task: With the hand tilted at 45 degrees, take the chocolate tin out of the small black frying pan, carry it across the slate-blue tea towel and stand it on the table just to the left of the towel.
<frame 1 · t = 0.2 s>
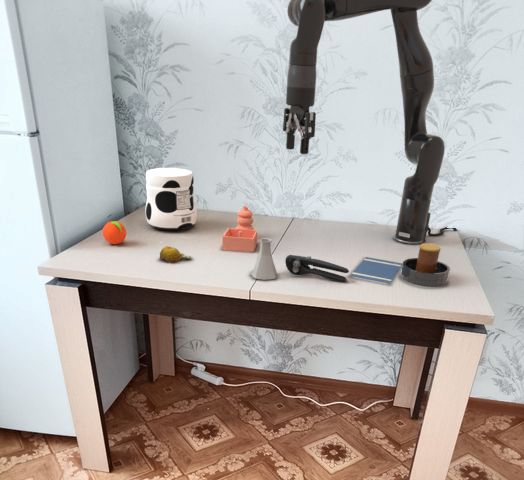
hand: (296, 151, 139), 29 cm above the table, tool pointing down, fingers open, 8 cm apart
chocolate tin: (426, 262, 137), in the pan
clementine: (116, 244, 155), on the table
flask: (264, 276, 137), on the table
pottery: (242, 242, 161), on the table
tea towel: (376, 270, 143), on the table
pan: (423, 279, 139), on the table
pan handle: (424, 257, 146), point 3 cm above the table
can opener: (315, 277, 137), on the table
milk container: (172, 227, 173), on the table
fruit: (176, 259, 146), on the table
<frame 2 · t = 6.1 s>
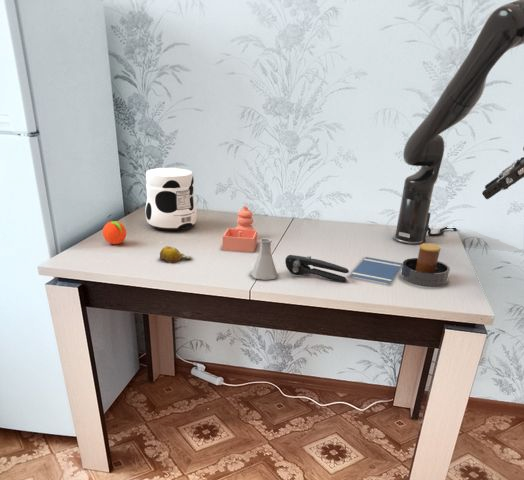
hand: (485, 193, 123), 25 cm above the table, tool tilted 45°, fingers open, 8 cm apart
nothing on the table moved.
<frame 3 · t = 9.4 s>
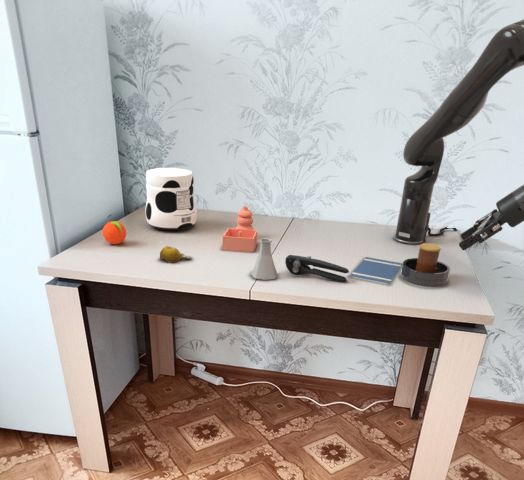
hand: (461, 242, 131), 12 cm above the table, tool tilted 45°, fingers open, 8 cm apart
nothing on the table moved.
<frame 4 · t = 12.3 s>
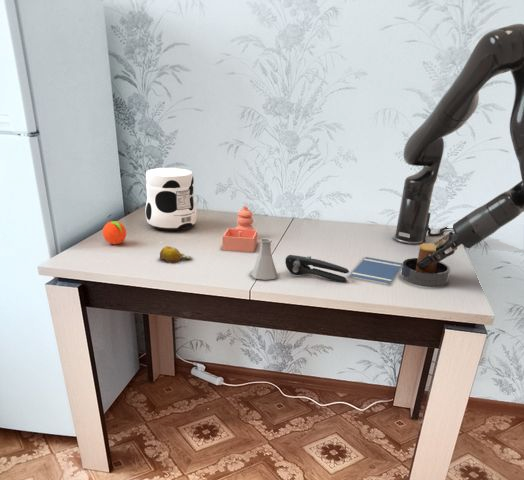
hand: (419, 263, 137), 4 cm above the table, tool tilted 45°, fingers closed on chocolate tin, 5 cm apart
chocolate tin: (426, 262, 137), in the pan, touching gripper
everything else where it was.
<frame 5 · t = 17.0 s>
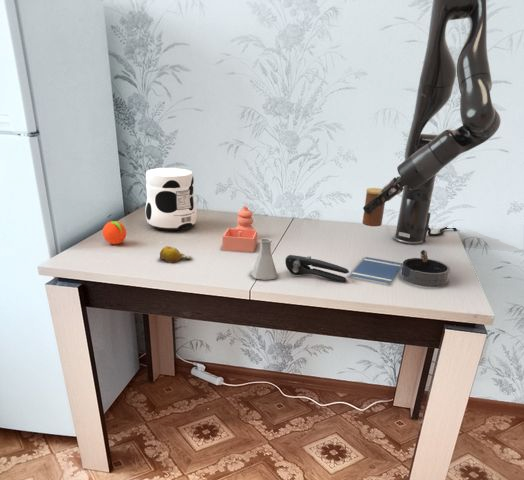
hand: (367, 208, 137), 17 cm above the table, tool tilted 45°, fingers closed on chocolate tin, 5 cm apart
chocolate tin: (374, 207, 136), point 18 cm above the table, touching gripper
everything else where it was.
when the fingers open (4 cm above the table, at t = 22.0 s): chocolate tin stays where it is, on the table.
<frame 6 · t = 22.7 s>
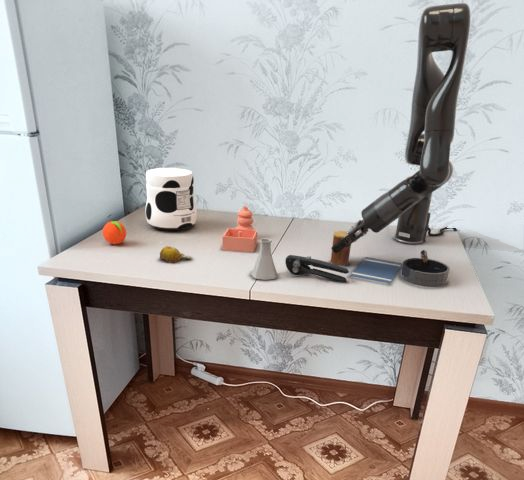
hand: (337, 246, 145), 5 cm above the table, tool tilted 45°, fingers open, 8 cm apart
chocolate tin: (341, 249, 145), on the table
everything else where it was.
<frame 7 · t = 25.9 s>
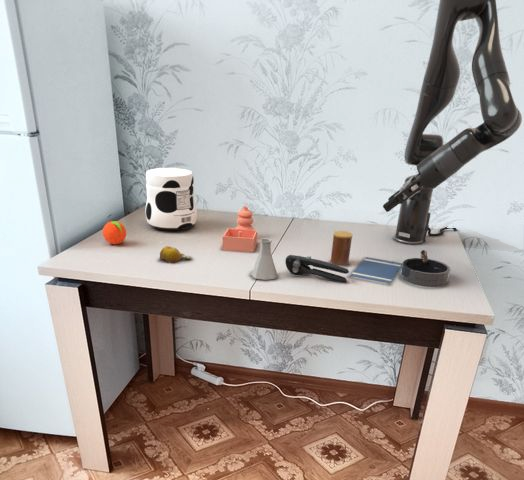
hand: (387, 205, 136), 18 cm above the table, tool tilted 45°, fingers open, 8 cm apart
nothing on the table moved.
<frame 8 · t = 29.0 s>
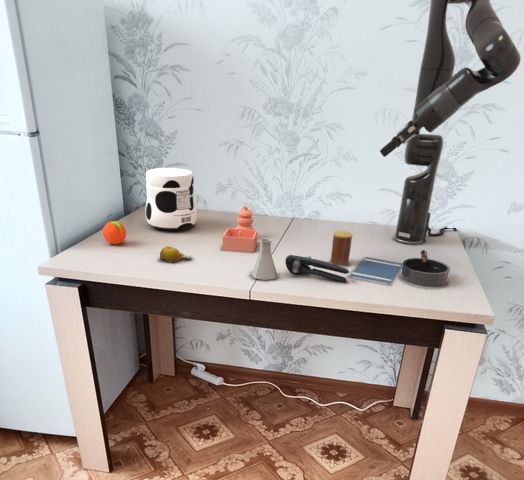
hand: (384, 151, 136), 31 cm above the table, tool tilted 45°, fingers open, 8 cm apart
nothing on the table moved.
at the end: chocolate tin 0.1 cm from the target spot, on the table; chocolate tin tilted 0°; chocolate tin touching table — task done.
